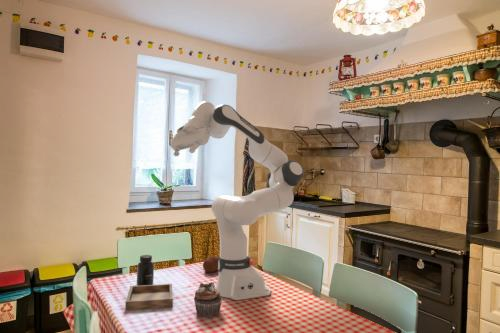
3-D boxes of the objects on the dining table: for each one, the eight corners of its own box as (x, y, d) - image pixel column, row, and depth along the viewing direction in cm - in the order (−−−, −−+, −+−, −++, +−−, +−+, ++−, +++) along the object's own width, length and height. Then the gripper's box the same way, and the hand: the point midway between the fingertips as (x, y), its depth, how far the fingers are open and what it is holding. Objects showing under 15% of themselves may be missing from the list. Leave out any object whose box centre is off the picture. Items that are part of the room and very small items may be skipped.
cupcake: (197, 320, 113) (198, 290, 113) (191, 309, 122) (192, 281, 122) (225, 316, 117) (226, 287, 117) (217, 305, 126) (217, 278, 126)
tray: (171, 291, 139) (172, 283, 139) (172, 307, 123) (172, 298, 123) (130, 293, 135) (130, 286, 135) (125, 310, 120) (125, 301, 120)
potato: (198, 273, 162) (198, 257, 162) (208, 267, 172) (208, 252, 172) (214, 275, 159) (215, 259, 159) (224, 269, 169) (224, 254, 169)
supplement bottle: (148, 287, 142) (149, 258, 142) (133, 286, 143) (134, 257, 143) (156, 282, 149) (156, 254, 149) (141, 280, 150) (142, 253, 150)
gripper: (216, 130, 149) (205, 154, 141) (183, 138, 160) (172, 161, 153) (208, 120, 145) (196, 144, 137) (175, 129, 157) (162, 152, 149)
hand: (183, 153), depth 145 cm, fingers open, 8 cm apart
